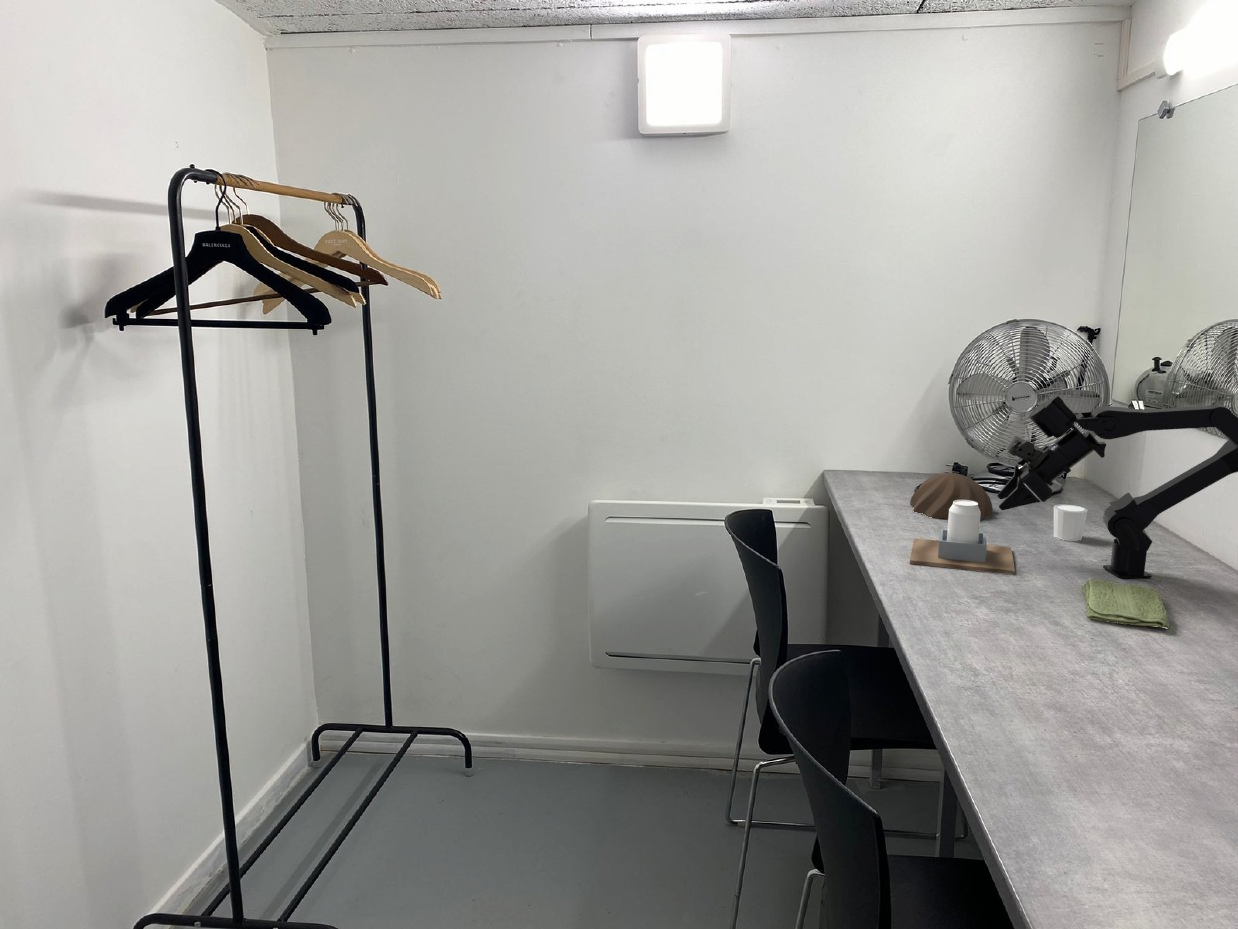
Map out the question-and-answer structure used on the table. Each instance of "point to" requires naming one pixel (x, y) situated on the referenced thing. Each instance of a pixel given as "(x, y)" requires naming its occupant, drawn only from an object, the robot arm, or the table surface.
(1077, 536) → the white tapered cup
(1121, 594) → the washcloth
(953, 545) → the gray square open box
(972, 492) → the decorative dome
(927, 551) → the brown slab
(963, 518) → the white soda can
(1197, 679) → the table surface
